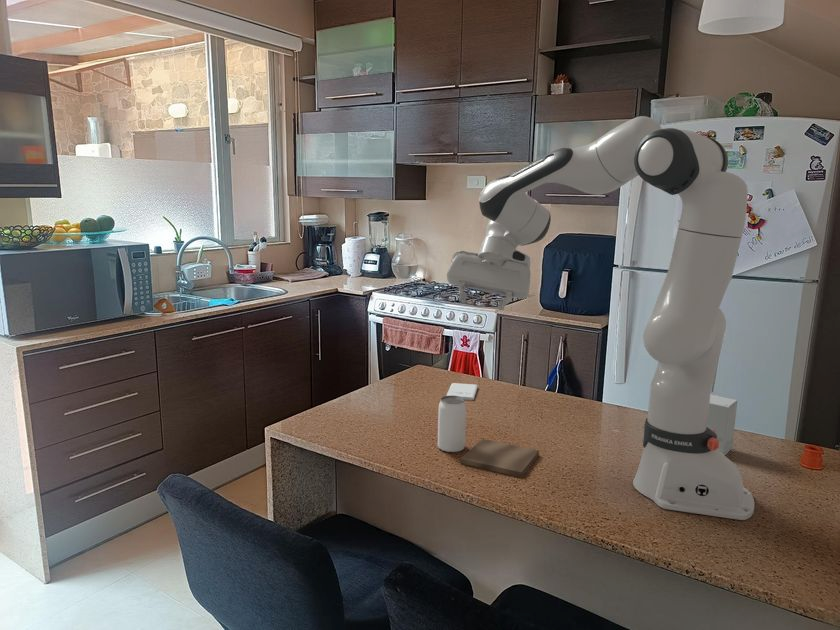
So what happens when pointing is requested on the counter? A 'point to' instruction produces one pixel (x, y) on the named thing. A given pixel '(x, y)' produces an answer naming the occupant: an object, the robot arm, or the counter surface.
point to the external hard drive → (463, 390)
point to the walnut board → (500, 457)
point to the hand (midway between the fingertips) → (480, 304)
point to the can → (451, 424)
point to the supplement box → (722, 421)
